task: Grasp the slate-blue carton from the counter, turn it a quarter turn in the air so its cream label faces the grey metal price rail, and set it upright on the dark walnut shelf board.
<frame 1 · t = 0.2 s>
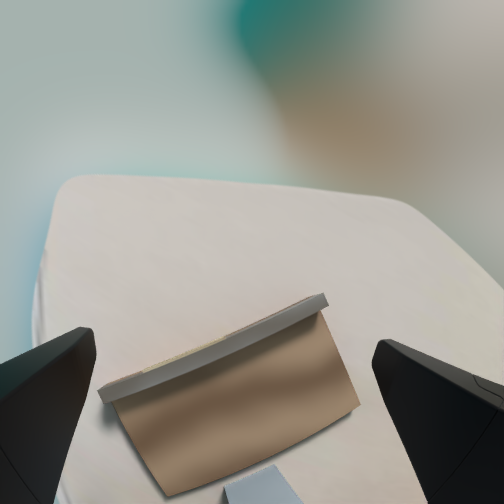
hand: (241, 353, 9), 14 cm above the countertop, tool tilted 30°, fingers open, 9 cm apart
carton: (266, 502, 20), on the countertop
shelf board: (237, 401, 22), on the countertop
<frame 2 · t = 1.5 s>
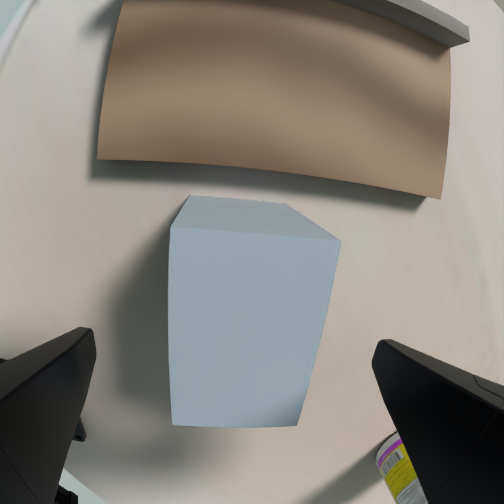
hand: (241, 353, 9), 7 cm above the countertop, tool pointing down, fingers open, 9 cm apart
supplement bottle: (404, 440, 23), on the countertop
carton: (231, 269, 16), on the countertop
shelf board: (295, 71, 13), on the countertop
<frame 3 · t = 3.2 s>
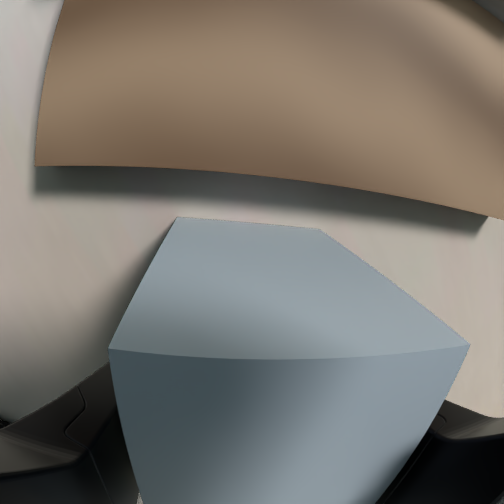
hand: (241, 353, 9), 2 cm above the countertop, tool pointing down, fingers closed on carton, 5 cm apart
carton: (239, 323, 11), on the countertop, touching gripper
shelf board: (331, 36, 8), on the countertop
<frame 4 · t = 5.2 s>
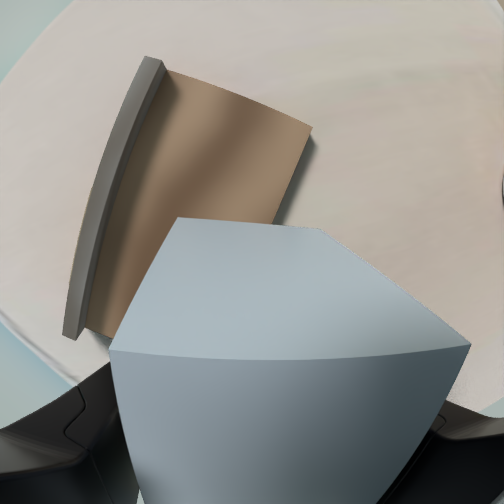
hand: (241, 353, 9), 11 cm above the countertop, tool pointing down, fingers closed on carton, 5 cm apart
carton: (240, 323, 11), point 9 cm above the countertop, touching gripper
shelf board: (177, 226, 19), on the countertop
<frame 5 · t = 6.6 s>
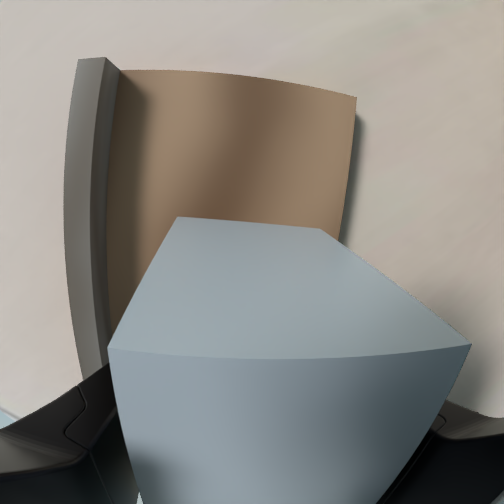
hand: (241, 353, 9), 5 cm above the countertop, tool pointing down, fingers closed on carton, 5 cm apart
carton: (239, 323, 11), point 3 cm above the countertop, touching gripper
shelf board: (206, 285, 14), on the countertop
when the fingers open (4 cm above the countertop, at t = 7.5 s): carton drops 1 cm, resting on shelf board.
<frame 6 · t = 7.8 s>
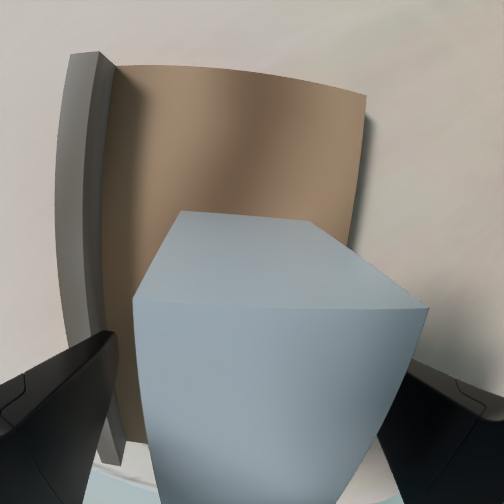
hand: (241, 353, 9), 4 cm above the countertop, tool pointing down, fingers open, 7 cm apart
carton: (237, 308, 12), point 1 cm above the countertop, touching shelf board
shelf board: (206, 293, 13), on the countertop
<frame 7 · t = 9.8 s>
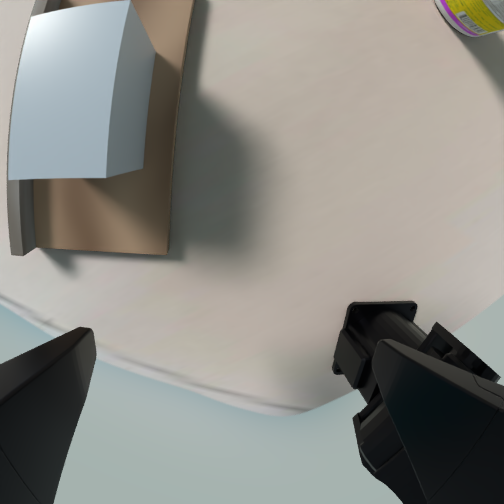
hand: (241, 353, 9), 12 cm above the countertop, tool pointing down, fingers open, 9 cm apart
supplement bottle: (454, 6, 16), on the countertop
carton: (110, 108, 15), point 1 cm above the countertop, touching shelf board
shelf board: (99, 111, 16), on the countertop
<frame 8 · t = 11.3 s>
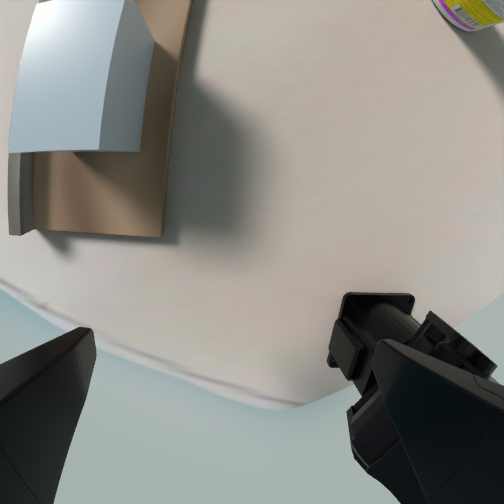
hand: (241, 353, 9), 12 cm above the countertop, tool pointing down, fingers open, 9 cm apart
supplement bottle: (451, 2, 17), on the countertop
carton: (110, 94, 16), point 1 cm above the countertop, touching shelf board
shelf board: (100, 98, 17), on the countertop
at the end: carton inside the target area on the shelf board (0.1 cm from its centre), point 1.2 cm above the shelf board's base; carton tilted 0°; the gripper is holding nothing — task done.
